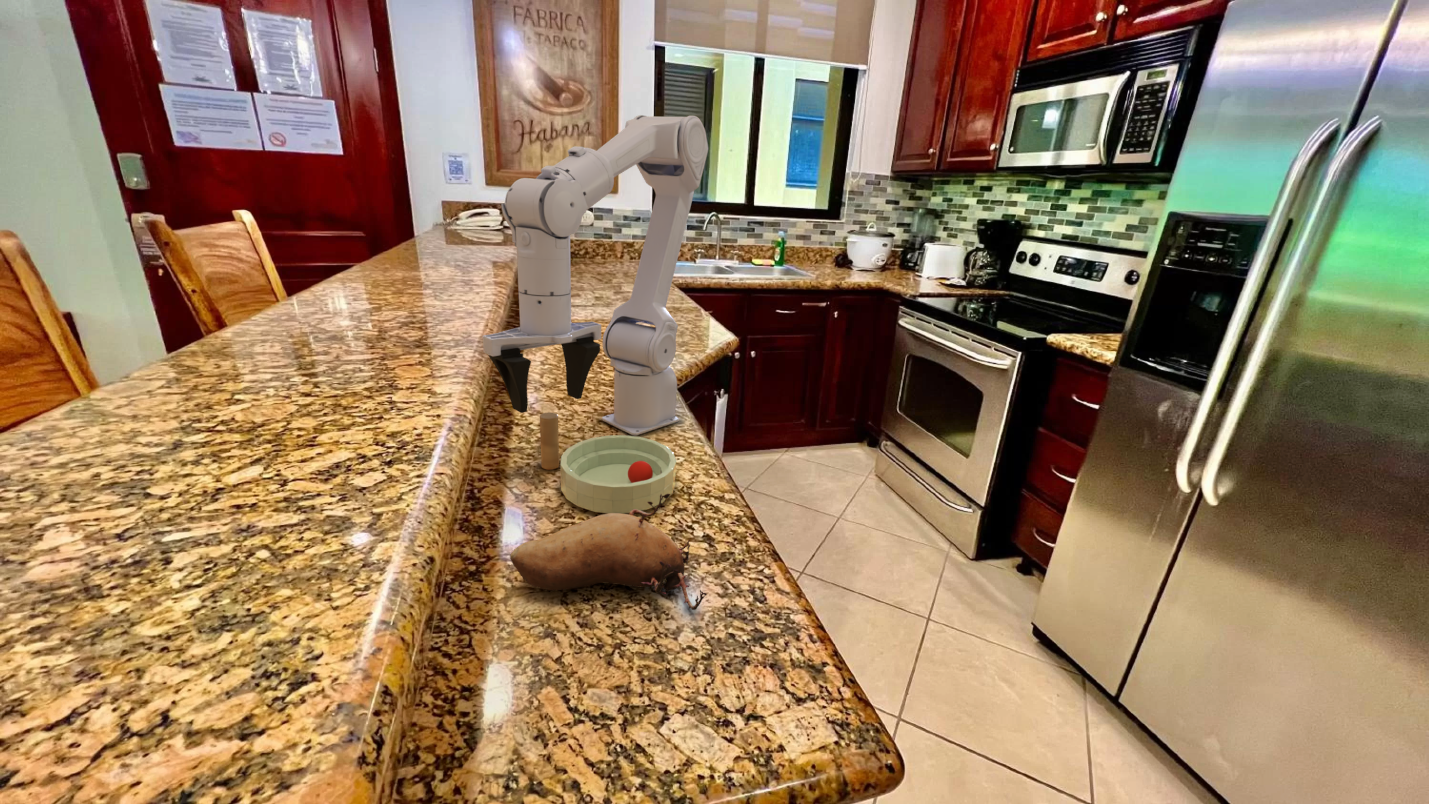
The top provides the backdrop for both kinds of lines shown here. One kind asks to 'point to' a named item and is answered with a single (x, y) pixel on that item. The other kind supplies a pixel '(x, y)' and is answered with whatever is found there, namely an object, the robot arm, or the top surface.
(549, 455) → the stick
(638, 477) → the ball
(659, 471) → the bowl
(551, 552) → the vegetable
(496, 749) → the top surface
